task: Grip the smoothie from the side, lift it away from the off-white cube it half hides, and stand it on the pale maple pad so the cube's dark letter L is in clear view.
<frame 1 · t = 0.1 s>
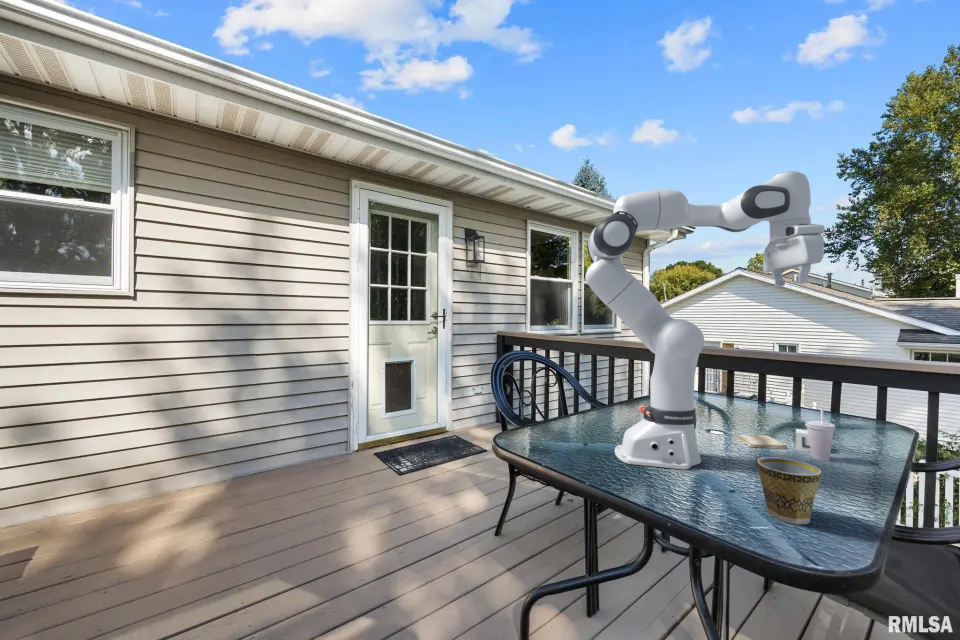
hand: (790, 284, 108), 48 cm above the table, tool pointing down, fingers open, 8 cm apart
smoothie: (820, 459, 110), on the table
letter cube: (806, 448, 119), on the table
maple pad: (759, 443, 125), on the table
ceramic cup: (782, 513, 80), on the table
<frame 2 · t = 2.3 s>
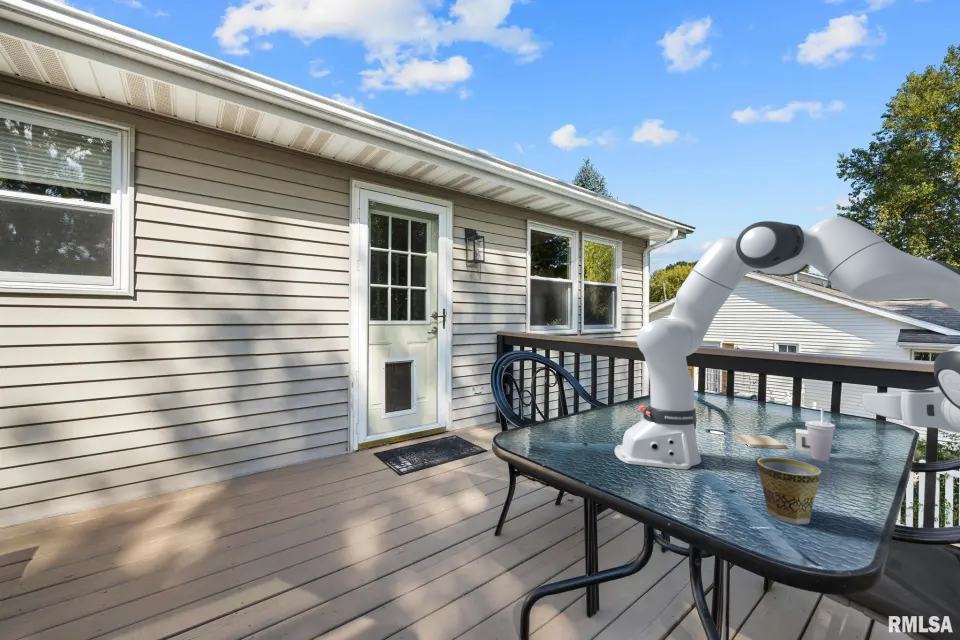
hand: (892, 397, 88), 21 cm above the table, tool horizontal, fingers open, 8 cm apart
nothing on the table moved.
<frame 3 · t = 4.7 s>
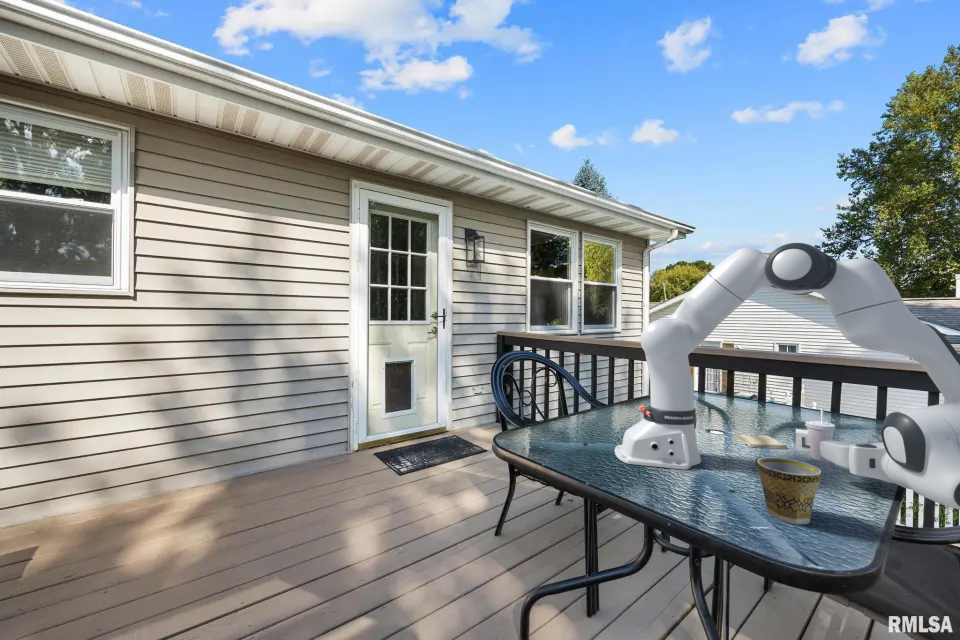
hand: (849, 443, 100), 7 cm above the table, tool horizontal, fingers open, 8 cm apart
nothing on the table moved.
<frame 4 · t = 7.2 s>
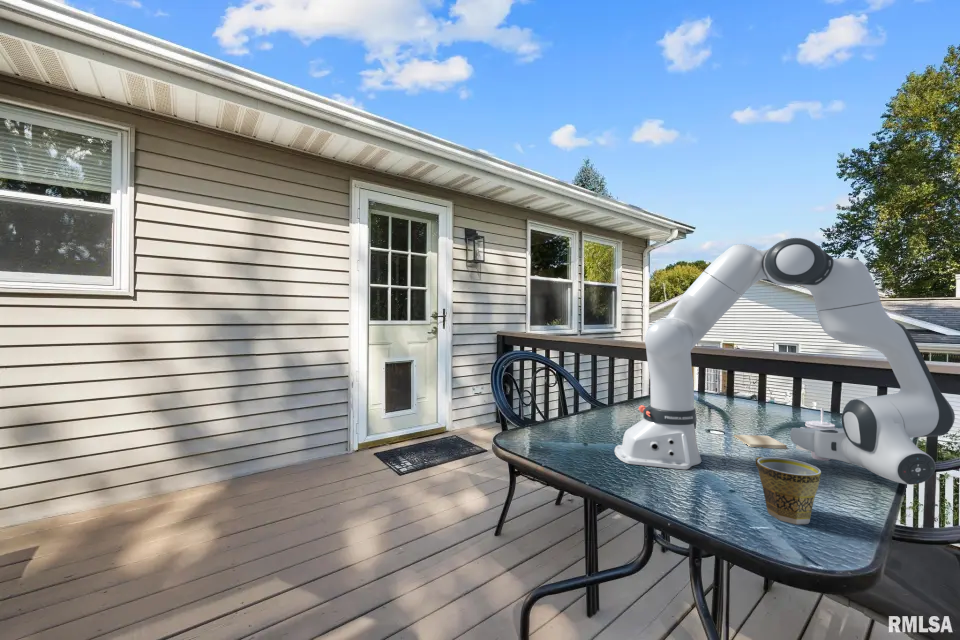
hand: (817, 430, 111), 8 cm above the table, tool horizontal, fingers closed on smoothie, 6 cm apart
smoothie: (820, 459, 110), on the table, touching gripper
everything else where it was.
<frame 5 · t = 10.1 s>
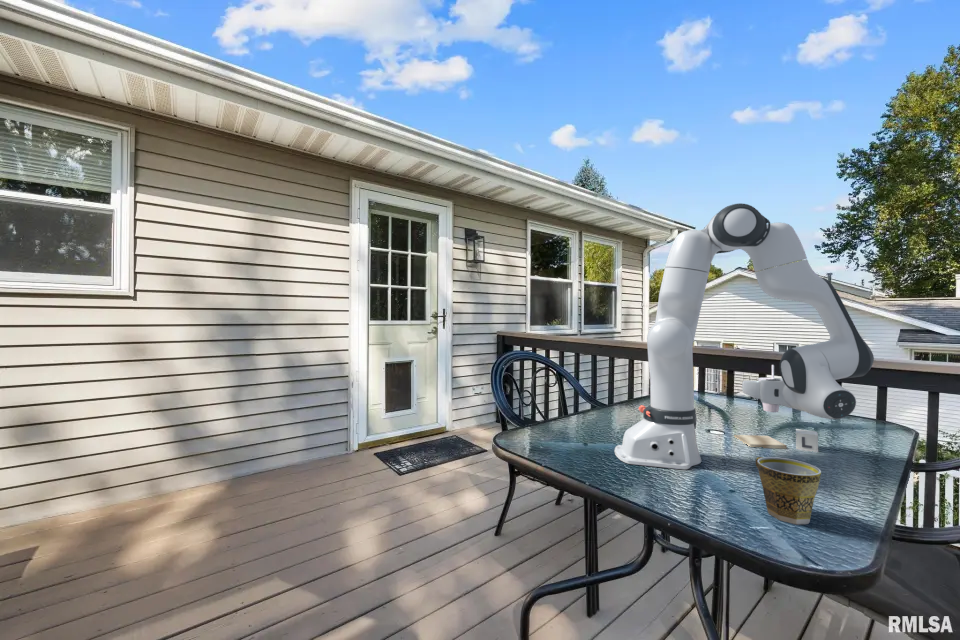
hand: (768, 384, 122), 19 cm above the table, tool horizontal, fingers closed on smoothie, 6 cm apart
smoothie: (770, 411, 121), point 11 cm above the table, touching gripper
everything else where it was.
when the fingers open (10 cm above the table, at t = 13.2 s): smoothie stays where it is, resting on maple pad.
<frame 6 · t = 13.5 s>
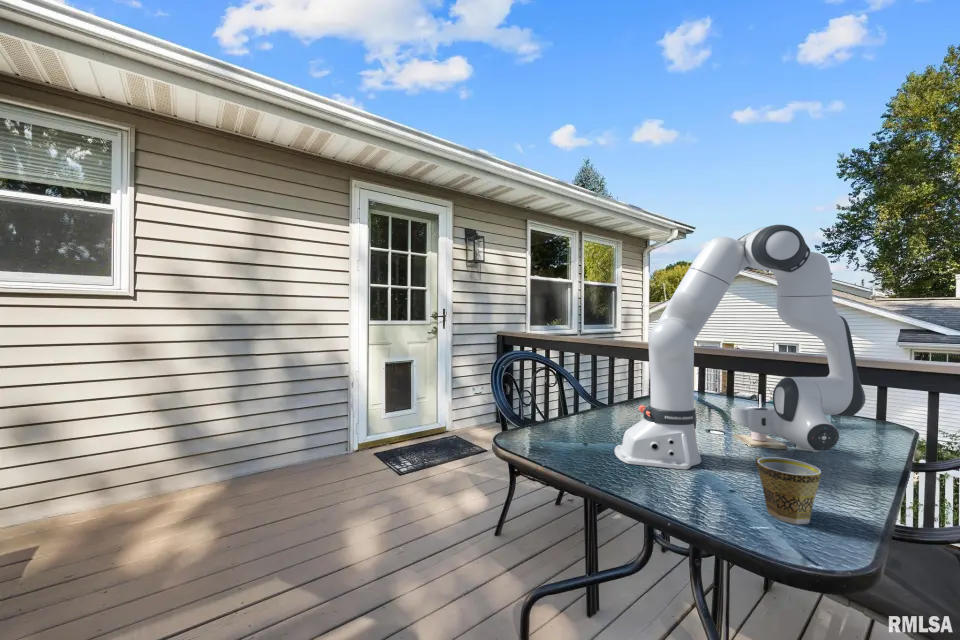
hand: (757, 410, 125), 10 cm above the table, tool horizontal, fingers open, 8 cm apart
smoothie: (758, 440, 125), point 1 cm above the table, touching maple pad
everything else where it was.
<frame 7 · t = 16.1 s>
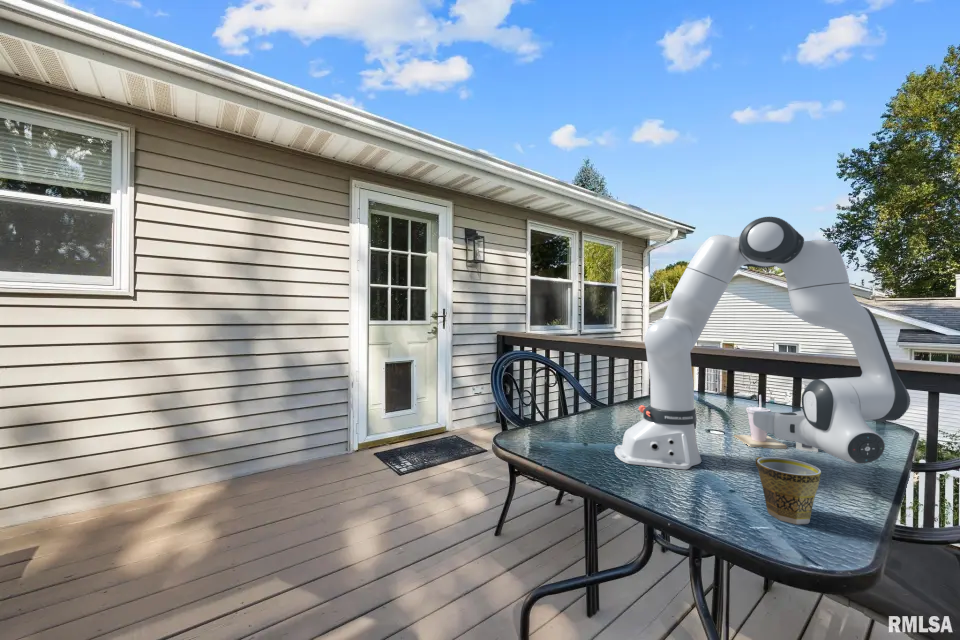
hand: (781, 414, 113), 12 cm above the table, tool horizontal, fingers open, 8 cm apart
nothing on the table moved.
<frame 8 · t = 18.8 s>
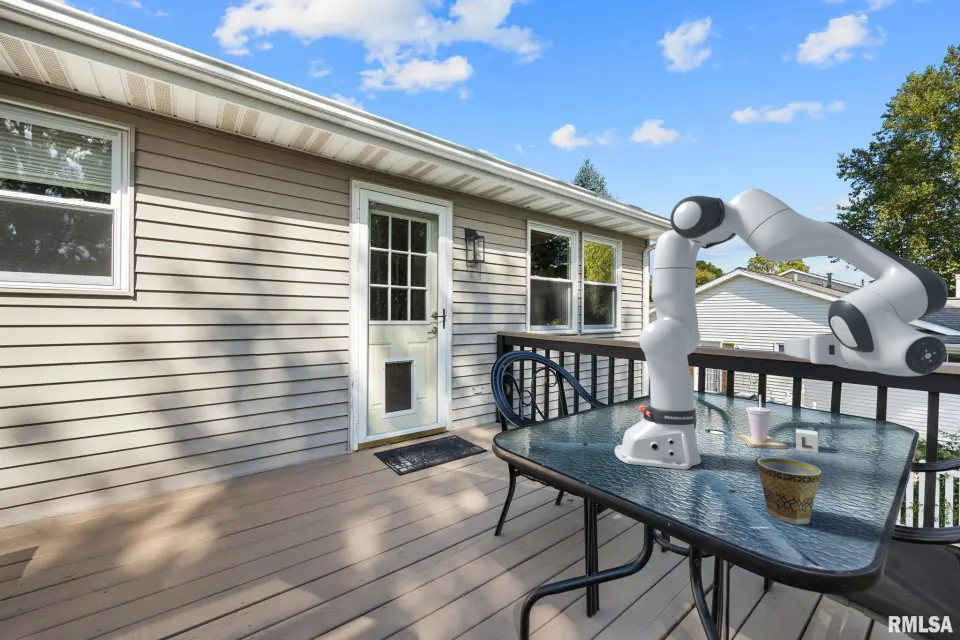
hand: (814, 345, 101), 32 cm above the table, tool horizontal, fingers open, 8 cm apart
nothing on the table moved.
at the end: smoothie inside the target area on the maple pad (0.1 cm from its centre), point 0.8 cm above the maple pad's base; smoothie tilted 0°; letter cube moved 0.1 cm from its start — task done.
